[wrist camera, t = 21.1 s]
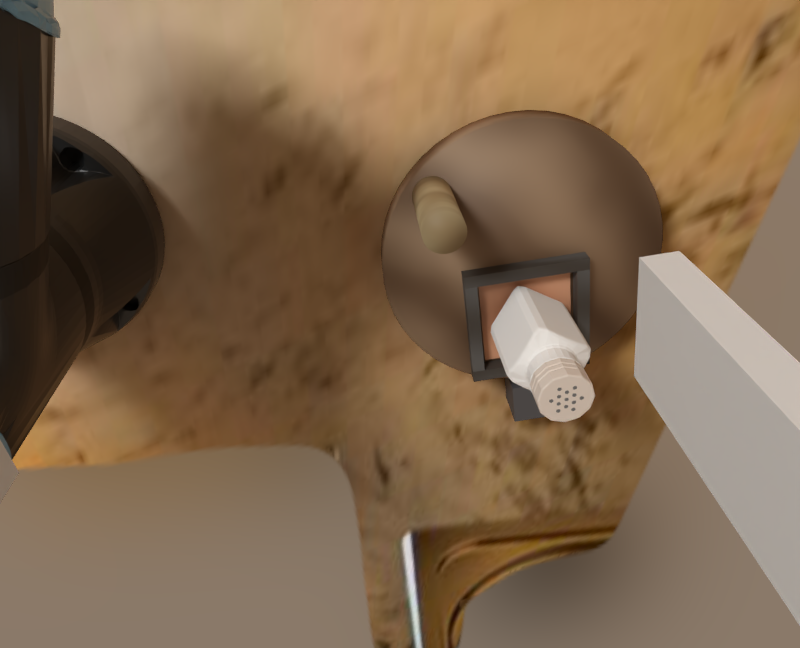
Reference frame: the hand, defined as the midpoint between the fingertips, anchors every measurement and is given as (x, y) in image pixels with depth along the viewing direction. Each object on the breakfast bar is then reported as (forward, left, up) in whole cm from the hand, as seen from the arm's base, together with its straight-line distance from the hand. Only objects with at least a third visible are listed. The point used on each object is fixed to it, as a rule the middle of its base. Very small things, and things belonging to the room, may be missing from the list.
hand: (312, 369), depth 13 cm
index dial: (+10, -12, -29) cm, 33 cm away
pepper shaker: (+10, -16, -28) cm, 33 cm away
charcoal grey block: (+10, -24, -31) cm, 40 cm away
